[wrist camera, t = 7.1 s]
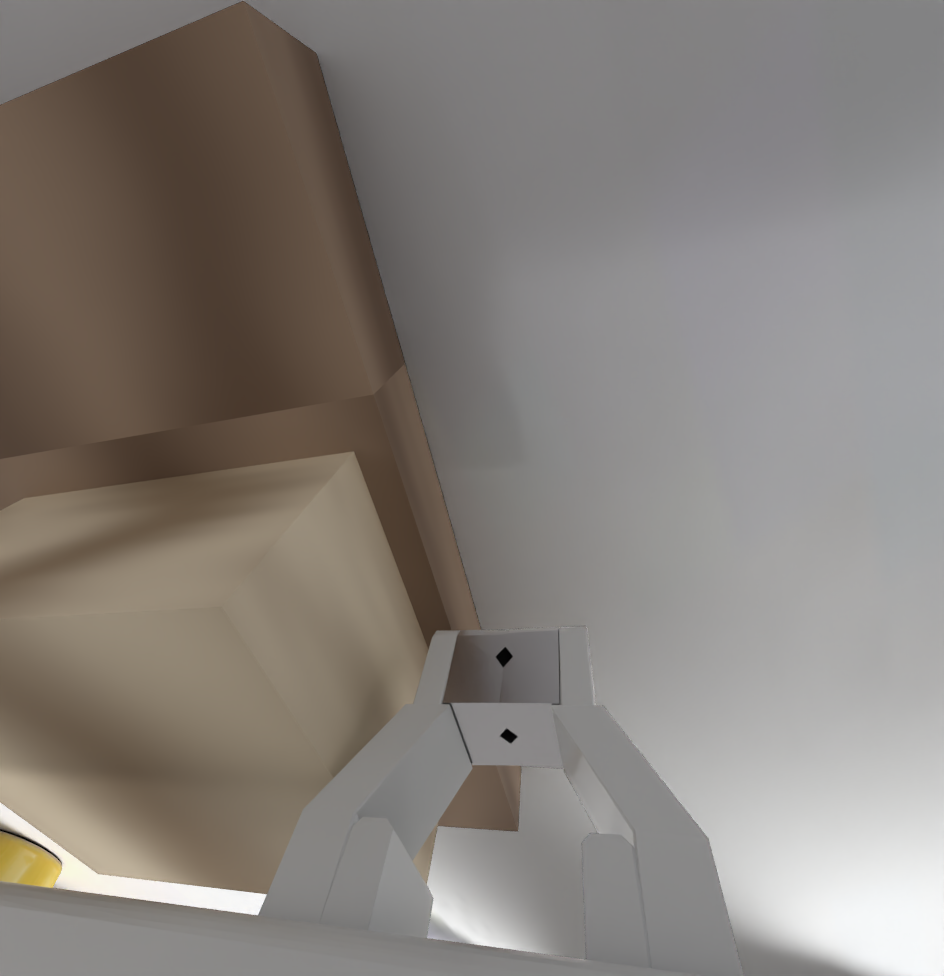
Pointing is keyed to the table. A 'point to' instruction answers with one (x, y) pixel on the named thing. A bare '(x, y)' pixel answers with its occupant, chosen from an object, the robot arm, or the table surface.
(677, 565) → the table surface
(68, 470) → the box
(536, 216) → the table surface
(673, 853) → the robot arm
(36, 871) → the plant pot
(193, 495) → the maple block
